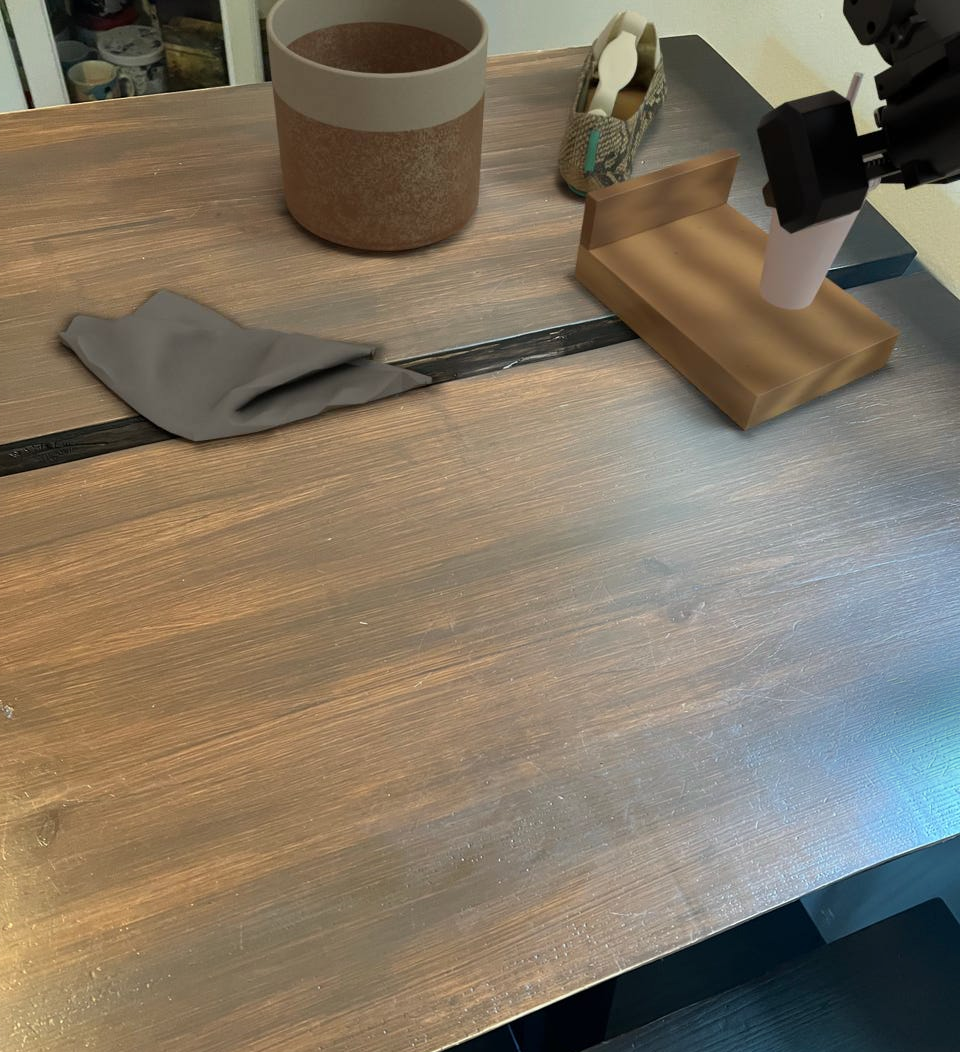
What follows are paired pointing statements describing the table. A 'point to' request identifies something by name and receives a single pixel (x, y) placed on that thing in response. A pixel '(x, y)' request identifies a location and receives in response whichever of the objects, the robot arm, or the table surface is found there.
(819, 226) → the smoothie
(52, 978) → the table surface
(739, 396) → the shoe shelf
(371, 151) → the planter
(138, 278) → the table surface
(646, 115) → the ballet flat
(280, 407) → the cloth
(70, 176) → the table surface
